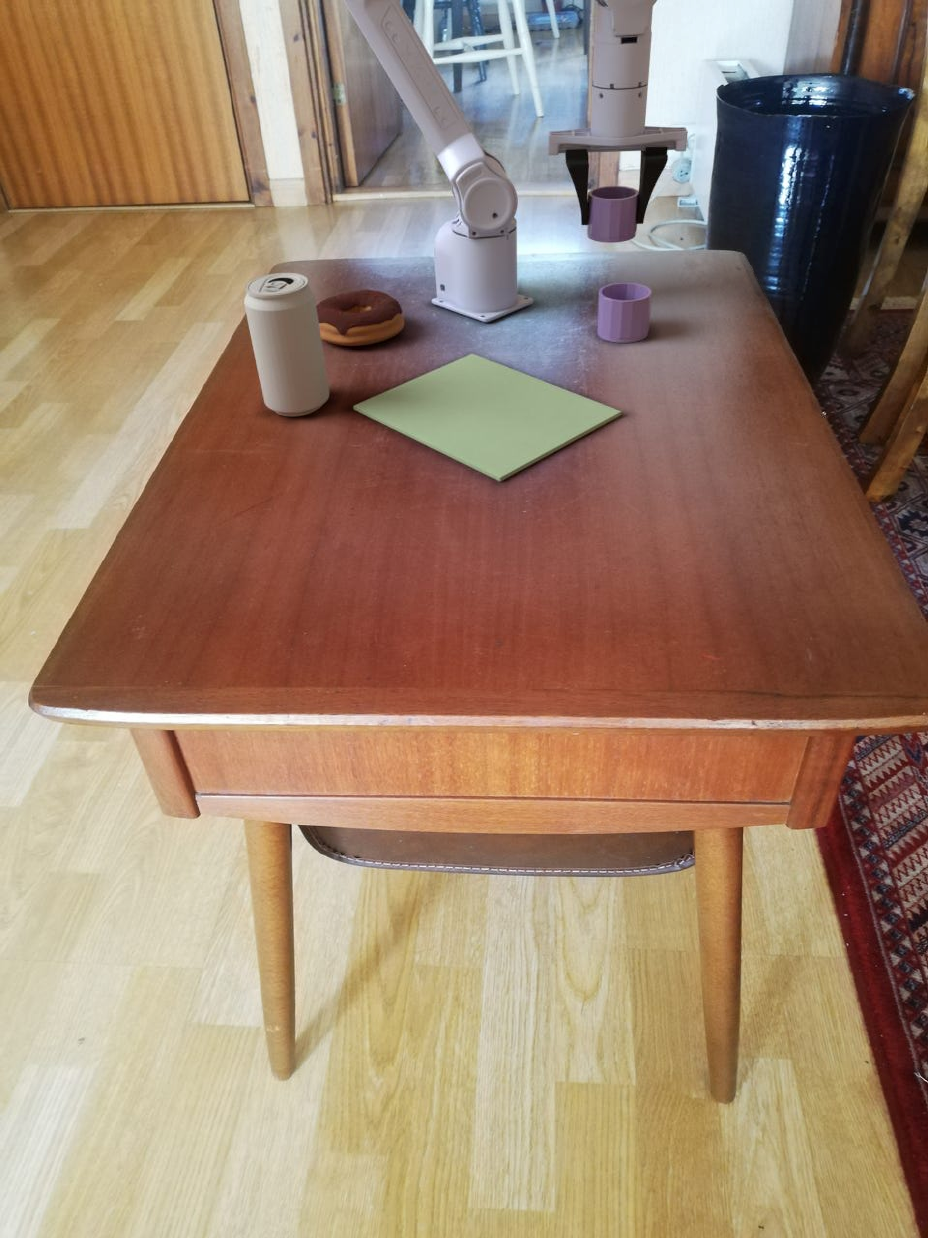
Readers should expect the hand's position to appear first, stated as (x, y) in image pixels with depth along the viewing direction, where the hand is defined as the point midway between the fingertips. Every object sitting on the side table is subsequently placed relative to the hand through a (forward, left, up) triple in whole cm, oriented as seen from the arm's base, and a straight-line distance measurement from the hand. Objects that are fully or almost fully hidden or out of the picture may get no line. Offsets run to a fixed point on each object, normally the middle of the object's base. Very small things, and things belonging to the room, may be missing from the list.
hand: (612, 221), depth 104 cm
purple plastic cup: (0, 0, -1) cm, 1 cm away
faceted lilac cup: (+8, -7, -8) cm, 14 cm away
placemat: (+10, -30, -8) cm, 33 cm away
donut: (-14, -26, -9) cm, 31 cm away
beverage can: (-5, -41, -9) cm, 43 cm away
